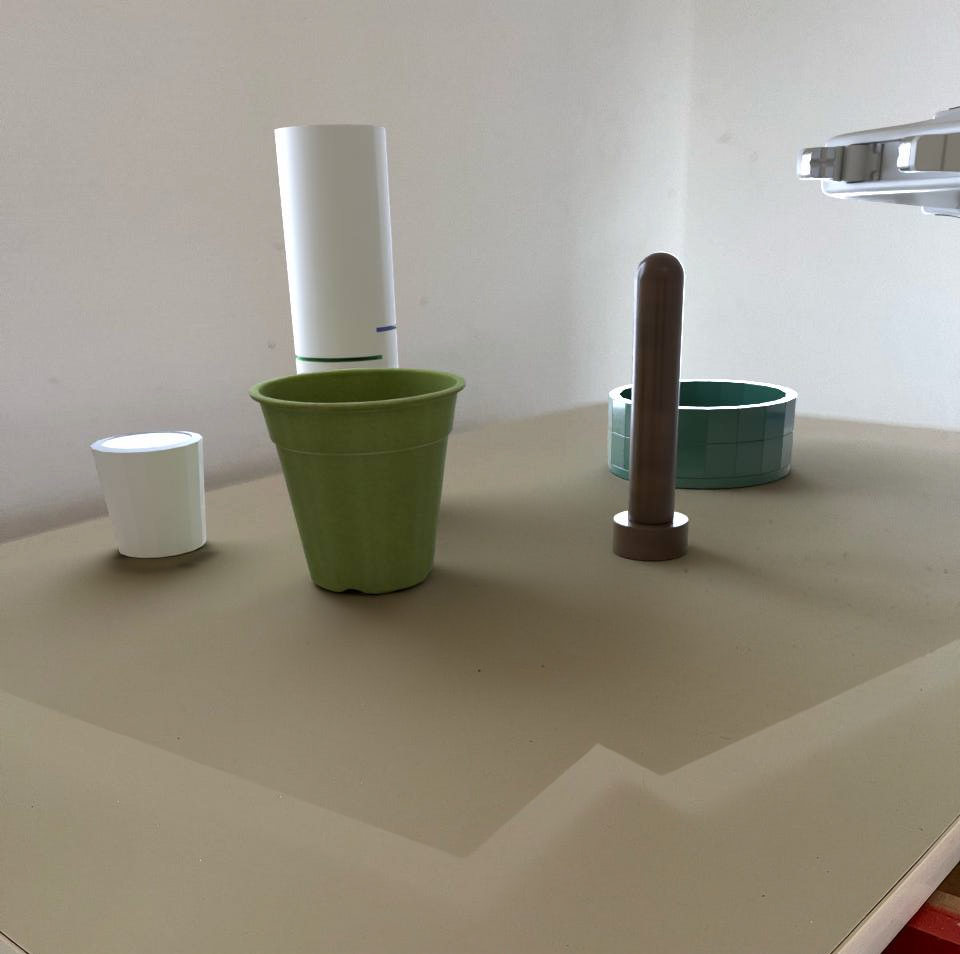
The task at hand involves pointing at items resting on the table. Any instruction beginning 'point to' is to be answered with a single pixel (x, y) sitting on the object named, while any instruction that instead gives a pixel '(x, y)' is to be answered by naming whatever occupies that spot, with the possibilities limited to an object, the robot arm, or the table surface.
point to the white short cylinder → (153, 491)
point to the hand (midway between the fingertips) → (851, 159)
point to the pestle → (654, 415)
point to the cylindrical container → (338, 245)
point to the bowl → (717, 433)
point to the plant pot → (363, 469)
